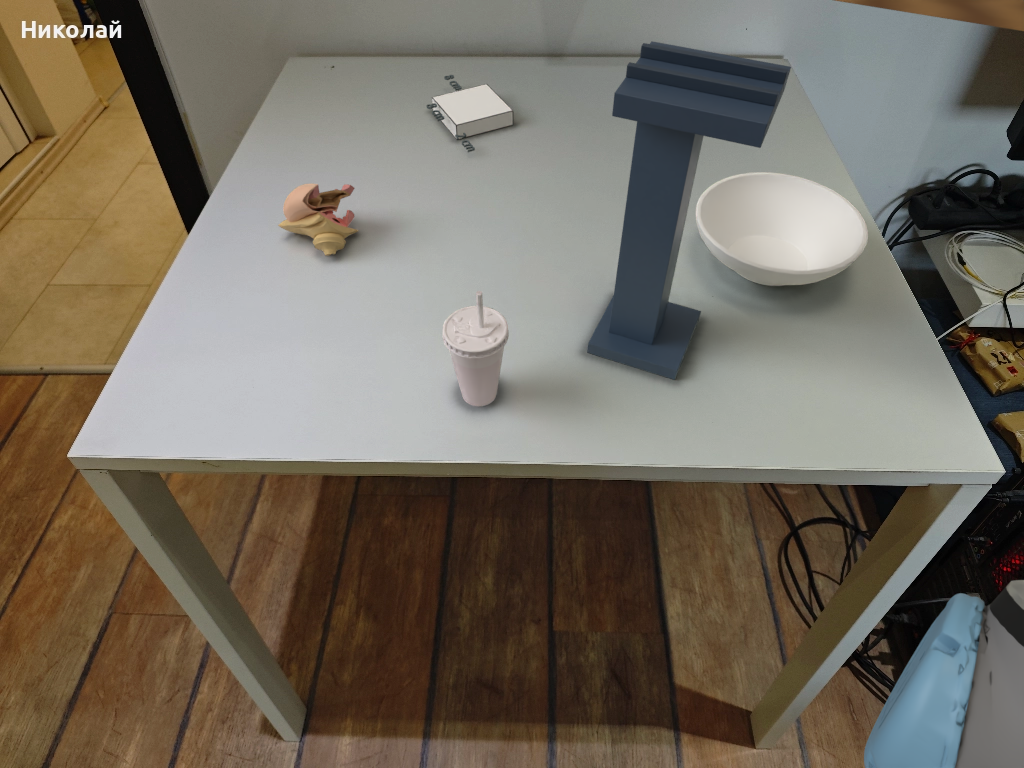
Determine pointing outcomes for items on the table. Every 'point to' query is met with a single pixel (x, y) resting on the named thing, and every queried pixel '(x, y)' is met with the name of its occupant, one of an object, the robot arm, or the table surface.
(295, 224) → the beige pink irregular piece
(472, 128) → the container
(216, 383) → the table surface
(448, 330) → the smoothie
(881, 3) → the stirring stick
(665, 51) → the lectern stand
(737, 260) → the bowl
